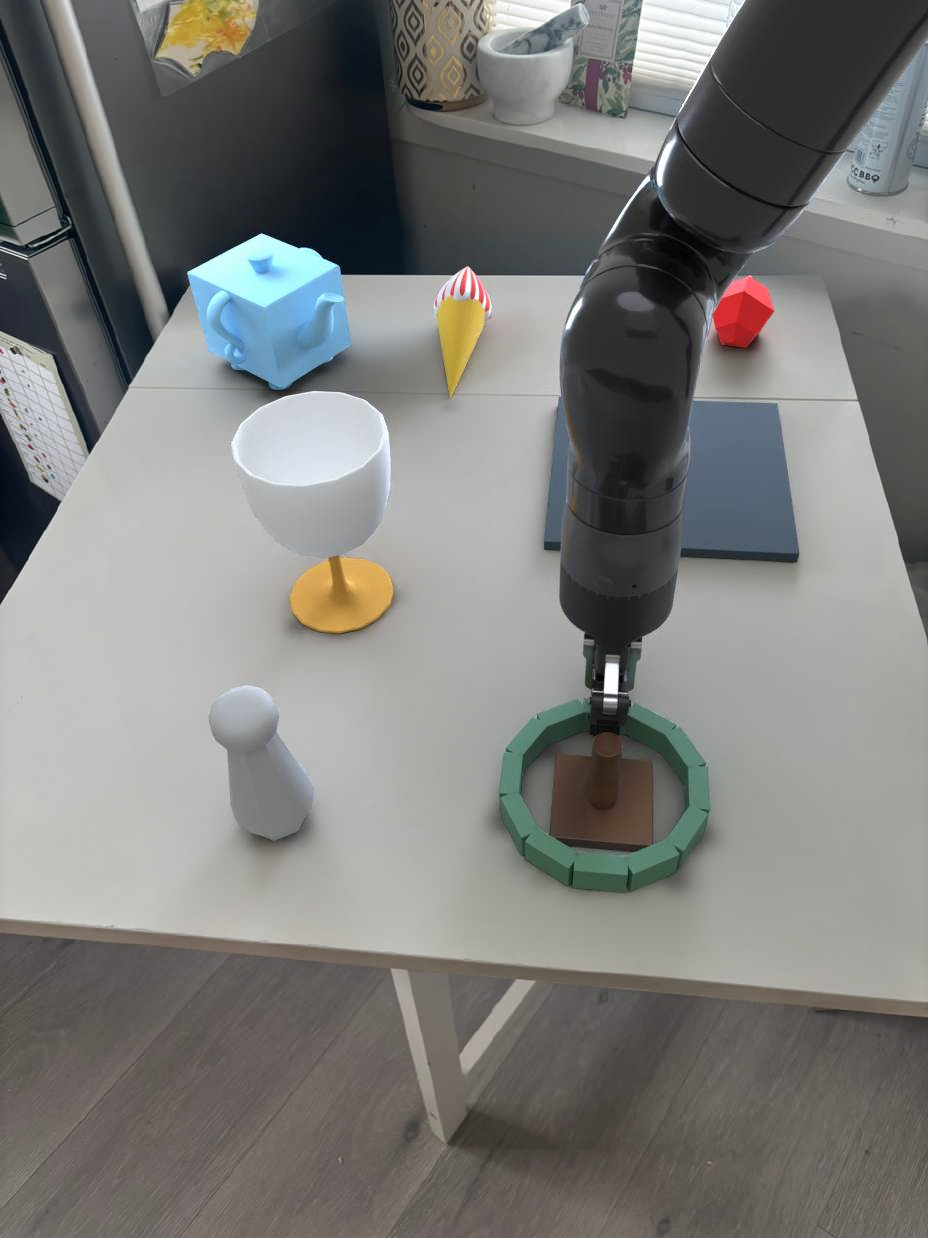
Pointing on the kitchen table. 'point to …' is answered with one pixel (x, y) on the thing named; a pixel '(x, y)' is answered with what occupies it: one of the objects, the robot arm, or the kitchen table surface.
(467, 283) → the ice cream cone
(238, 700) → the white game pawn
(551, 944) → the kitchen table surface
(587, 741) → the kitchen table surface
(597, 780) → the ring toss
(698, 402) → the mat
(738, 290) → the red faceted gem
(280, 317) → the teapot
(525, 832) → the ring
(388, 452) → the cup
